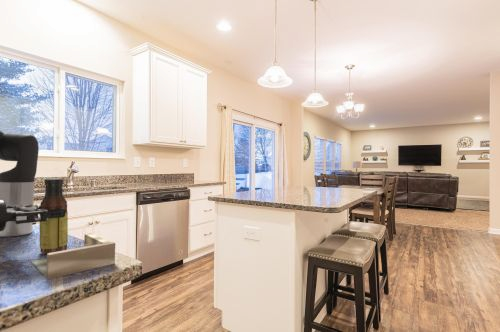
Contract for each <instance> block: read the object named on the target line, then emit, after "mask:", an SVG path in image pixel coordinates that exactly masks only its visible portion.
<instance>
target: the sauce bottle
mask: <svg viewBox="0 0 500 332" xmlns="http://www.w3.org/2000/svg"><path fill="white" fill-rule="evenodd" d="M63 184H64V179H63V178H62V177H61V178H60V177H59V178H58V177H57V178H55V177H53V178H51V177H50V178H45V179H44V185H45V188H44V189H45V190H44V191H45V192H44V197H43V199H42V200H41V201H40V205H39V206H40V210H44V209H47V210H51V209H65V217H61V218H51V219H48V220H47V221H45V222H43V221H42V222H39V249H40V250H39V251H40V254H42V255H47V253H52V252H58V251H64V250H68V244H69V240H68V239H69V234H68V233H69V232H68V231H69V230H68V229H69V228H68V225H69V224H68V219H69V217H68V216H69V215H68V214H69V212H68V202H67V200H66V198H65V196H64V194H63ZM39 217H41V214H39Z"/></svg>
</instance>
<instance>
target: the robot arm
mask: <svg viewBox="0 0 500 332" xmlns="http://www.w3.org/2000/svg"><path fill="white" fill-rule="evenodd" d="M38 142H39V141H38V139H37V137H36V136H34V135H33V134H30V133H16V132H15V133H12V132H11V133H10V132H4V131H1V130H0V160H1V161H4V162H5V161H6V162H16V164H15V166H14V167H13V168H11V169H9V170H5V171H2V172H0V237H18V236H24V235H28V234H31V233H32V232H33V223H38V222H39V223H40V222H42V221H43V222H45V221H47V220H48V219H51V218H61V217H65V209H51V210H47V209H44V210H40V205H38V204H35V205H34V200H35V198H34V197H35V179H36V178H35V177H36V174H37V168H38V159H39V158H38V157H39V150H40V149H39V143H38ZM40 214H41V217H40V216H39V215H40Z"/></svg>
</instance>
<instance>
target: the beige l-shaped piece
mask: <svg viewBox="0 0 500 332" xmlns="http://www.w3.org/2000/svg"><path fill="white" fill-rule="evenodd" d="M83 241H84V245H83V246H82V247H76V248H71V249H67V250H64V251H58V252H52V253H47V254H46V257H45V258H40V259H33V260H31V261H30V263H31V264H32V265H33V266H34V267H35V268H36V269H37V270H38V271H39V272H40V273H41V274H42V275H43V276H44V277H45V276H46V277H45V278H46V279H47V280H51V279H55V278H60V277H64V276H69V275H71V274H72V275H73V274H76V273H81V272H84V271H88V270H93V269H96V268H97V269H99V268H103V267H106V266H110V265H113V264H115V261H116V242H115V241H109V240H106V239H104V238H102V237H100V236H98V235H96V234H93V233H92V232H89V233H84V239H83ZM50 278H51V279H50Z"/></svg>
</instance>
